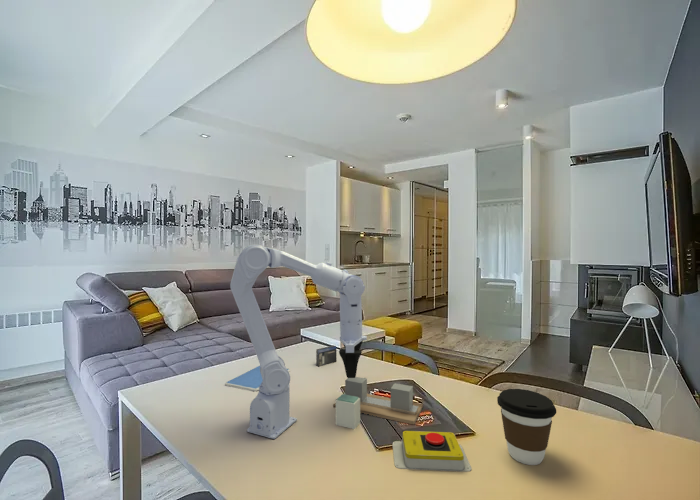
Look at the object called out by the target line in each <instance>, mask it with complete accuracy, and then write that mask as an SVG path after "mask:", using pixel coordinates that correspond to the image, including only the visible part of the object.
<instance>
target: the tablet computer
mask: <svg viewBox="0 0 700 500" xmlns="http://www.w3.org/2000/svg"><path fill="white" fill-rule="evenodd" d="M286 369H287V370H288V372H289V373H290V372H291V369H289V368H286ZM262 381H263V380H262V375H261V373H260V365H258V366H256V367H254V368H252V369H250V370H248V371H247V372H244V373H242V374H240V375H237V376H236V377H234V378H232V379H230V380H228V381H226V382H225V383H224V385H225V386H226V387H230V388H235V389H241V390H245V391H250V392H257V391H258V392H259V386H260V385H261V383H262Z"/></svg>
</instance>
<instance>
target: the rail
mask: <svg viewBox="0 0 700 500" xmlns="http://www.w3.org/2000/svg"><path fill="white" fill-rule="evenodd" d="M360 404H363V405H368V406H373V407H378V408H383V409H388V410H393V411H398V412H403V413H408V414H413V415H416V413H417V411H418V406H414V405H413V406H412V408H411V409H410V411H406V410H401V409H396V408H391V401H388V400H382V399H377V398H372V397H366V398H365V399H364V400H363V401H362V402H361V401H360Z"/></svg>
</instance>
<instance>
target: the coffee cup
mask: <svg viewBox="0 0 700 500" xmlns="http://www.w3.org/2000/svg"><path fill="white" fill-rule="evenodd" d="M496 399H497V405H498V406H499V407H500V413H501V420H502V427H503V433H504V439H505V440H506V446H507V451H508V453H509V455H510V456H511V458H512V459H513V460H515V461H517V462H518V463H521V464H523V465H529V466H538V465H540V464H541V463H542V462H543V460H544V459H545V456H546V450H547V447H548V445H549V438H550V434H551V429H552V423H553V421H552V418H554V417H555V415H557V408H556V406H555V404H554V401H553V400H551V398H549V397H548V396H545V395H544V394H541V393H540V392H537V391H533V390H529V389H522V388H509V389H503V390H502V391H501V392H500V393H499V395H498V396H497V397H496Z"/></svg>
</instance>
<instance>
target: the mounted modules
mask: <svg viewBox="0 0 700 500" xmlns="http://www.w3.org/2000/svg"><path fill="white" fill-rule="evenodd" d="M344 382H345V383H344V385H345V386H344V387H345V388H344V394H345V395H350V396H355V397H359V398H360V401H361V402H362V401H363V400H364V399H365V398H366V397H367V394H368V378H366V377H360V376H356V377H355V378H347V377H346V379H345V381H344ZM413 396H414V386H413V385H407V384H402V383H401V384H400V383H393V385H392V386H391V387H390V398H391V408H396V409H401V410H406V411H410V409H411V408H412V406H413V402H414V397H413Z"/></svg>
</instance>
